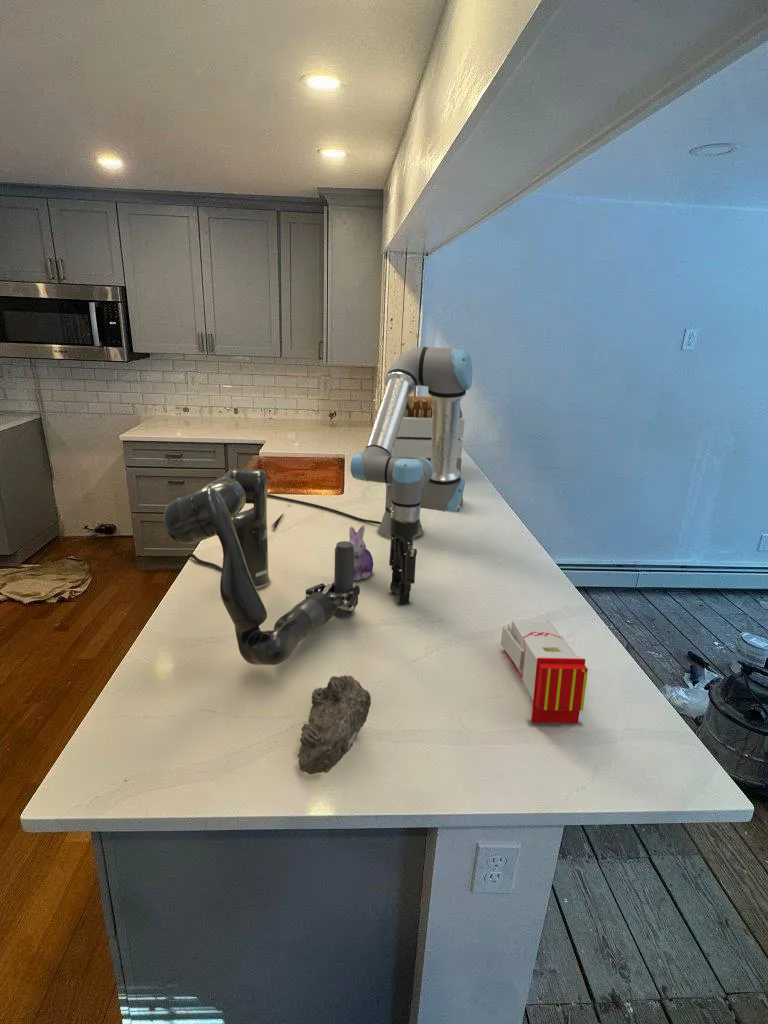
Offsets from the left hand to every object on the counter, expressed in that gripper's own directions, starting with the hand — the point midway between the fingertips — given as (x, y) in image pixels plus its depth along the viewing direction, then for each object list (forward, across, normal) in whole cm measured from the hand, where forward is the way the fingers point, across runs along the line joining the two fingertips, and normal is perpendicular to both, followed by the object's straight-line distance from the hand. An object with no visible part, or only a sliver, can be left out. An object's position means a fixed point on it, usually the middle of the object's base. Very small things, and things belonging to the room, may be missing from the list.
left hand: (349, 586), depth 147 cm
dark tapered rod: (+43, +56, +6) cm, 71 cm away
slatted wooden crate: (+130, +40, +6) cm, 136 cm away
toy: (-5, -51, +6) cm, 51 cm away
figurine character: (+94, +8, +6) cm, 94 cm away
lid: (+12, -9, +2) cm, 15 cm away
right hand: (+12, -9, +6) cm, 16 cm away
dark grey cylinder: (-3, 0, +6) cm, 7 cm away
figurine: (+19, +8, +6) cm, 21 cm away
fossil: (-41, -23, +6) cm, 48 cm away
